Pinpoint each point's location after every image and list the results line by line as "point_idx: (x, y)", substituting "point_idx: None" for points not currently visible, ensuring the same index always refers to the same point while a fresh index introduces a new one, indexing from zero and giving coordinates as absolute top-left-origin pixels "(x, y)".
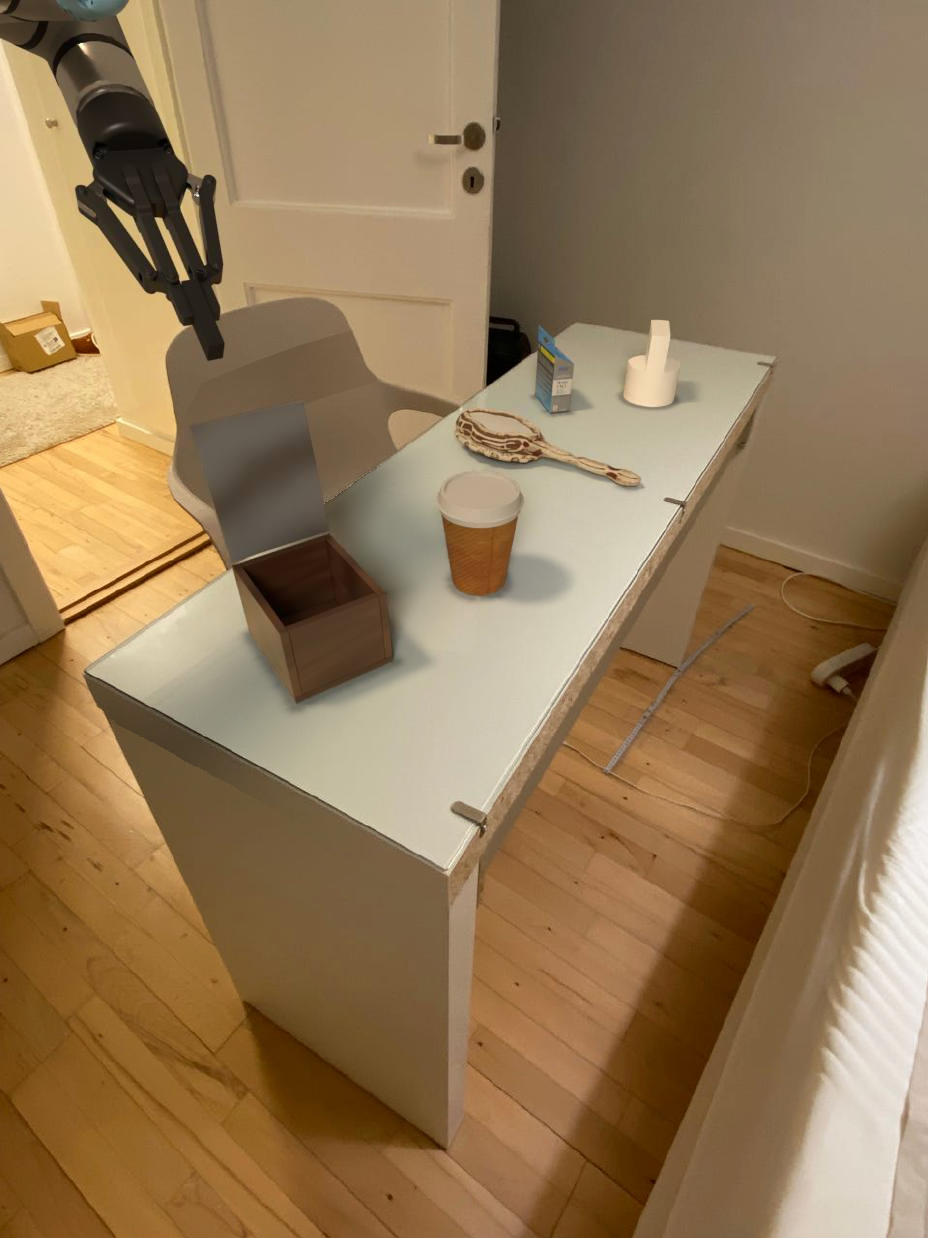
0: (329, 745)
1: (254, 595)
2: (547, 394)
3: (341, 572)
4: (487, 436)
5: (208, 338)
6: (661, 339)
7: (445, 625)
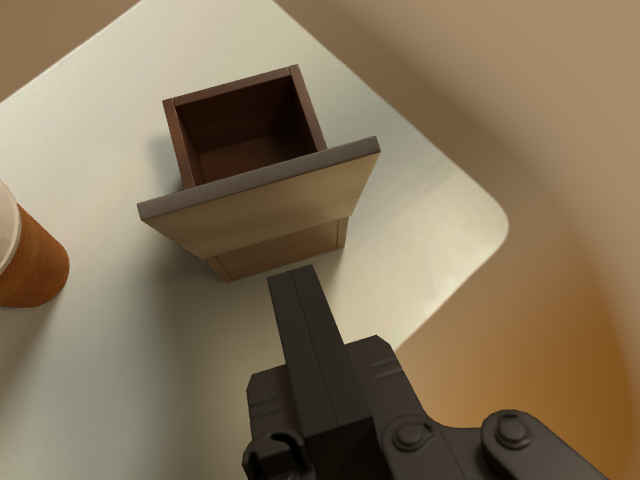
0: (278, 66)
1: (321, 138)
2: None
3: None
4: None
5: (309, 277)
6: None
7: (112, 195)
